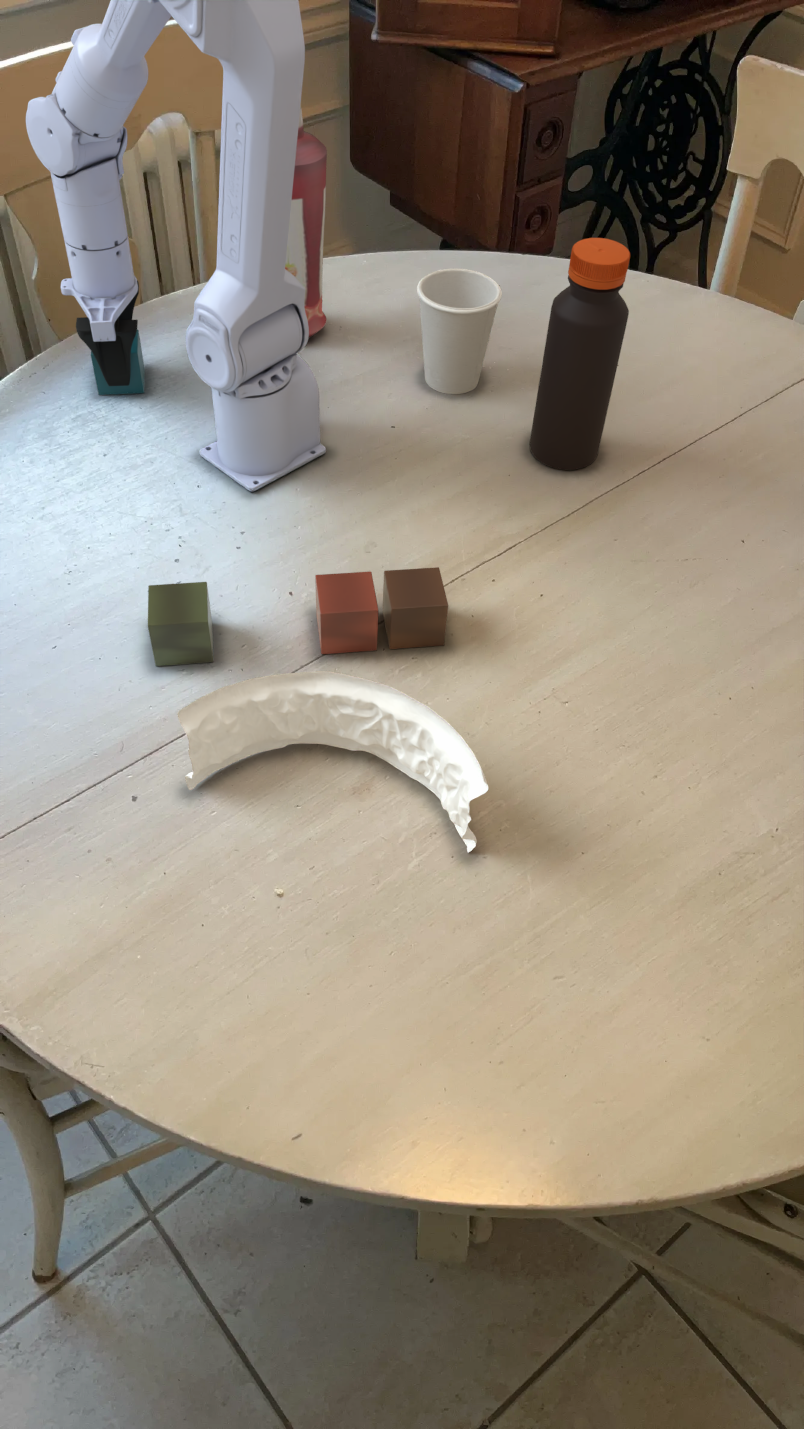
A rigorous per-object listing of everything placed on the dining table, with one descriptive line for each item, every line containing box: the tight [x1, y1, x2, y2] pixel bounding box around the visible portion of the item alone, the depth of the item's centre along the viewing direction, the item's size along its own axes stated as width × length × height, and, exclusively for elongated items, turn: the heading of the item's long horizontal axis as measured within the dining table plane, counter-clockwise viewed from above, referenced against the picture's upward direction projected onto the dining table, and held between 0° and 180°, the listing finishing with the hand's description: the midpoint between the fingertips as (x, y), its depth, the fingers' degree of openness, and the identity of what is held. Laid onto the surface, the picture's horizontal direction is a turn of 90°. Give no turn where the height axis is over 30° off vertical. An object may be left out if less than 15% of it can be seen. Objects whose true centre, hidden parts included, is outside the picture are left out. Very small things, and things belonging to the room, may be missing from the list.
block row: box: [147, 566, 449, 667], centre depth 84 cm, size 23×4×4 cm, turn 98°
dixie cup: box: [416, 268, 503, 395], centre depth 107 cm, size 8×8×10 cm
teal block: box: [90, 328, 146, 396], centre depth 106 cm, size 4×4×4 cm
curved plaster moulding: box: [176, 670, 489, 854], centre depth 72 cm, size 11×20×8 cm, turn 97°
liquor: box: [285, 104, 328, 339], centre depth 105 cm, size 7×7×28 cm
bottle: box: [528, 237, 631, 471], centre depth 96 cm, size 7×7×20 cm
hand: (119, 369), depth 107 cm, fingers open, 5 cm apart
